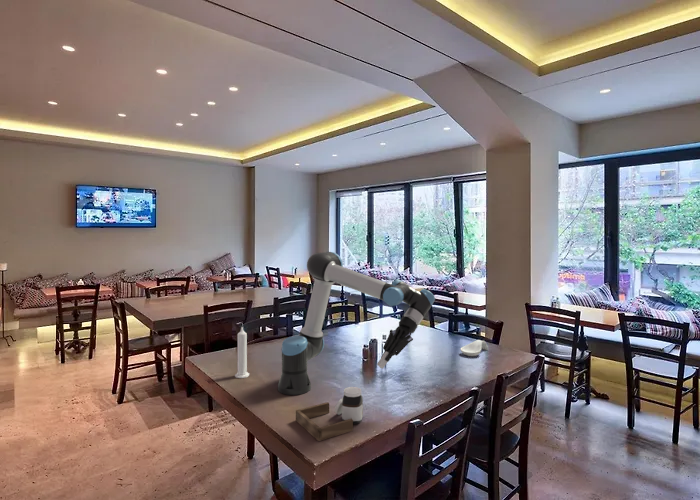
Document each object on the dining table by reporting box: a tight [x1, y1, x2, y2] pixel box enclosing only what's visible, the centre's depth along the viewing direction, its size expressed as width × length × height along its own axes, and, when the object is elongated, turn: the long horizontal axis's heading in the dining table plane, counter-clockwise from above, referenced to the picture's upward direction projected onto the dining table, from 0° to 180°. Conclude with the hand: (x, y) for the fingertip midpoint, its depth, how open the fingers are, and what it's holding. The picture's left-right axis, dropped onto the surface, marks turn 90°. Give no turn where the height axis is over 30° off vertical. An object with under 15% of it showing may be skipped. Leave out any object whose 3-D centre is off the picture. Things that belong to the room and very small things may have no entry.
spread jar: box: [334, 386, 364, 425], centre depth 154 cm, size 12×11×12 cm
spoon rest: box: [460, 339, 489, 357], centre depth 243 cm, size 24×12×7 cm, turn 135°
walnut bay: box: [295, 401, 354, 442], centre depth 148 cm, size 18×14×4 cm
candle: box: [234, 326, 250, 379], centre depth 200 cm, size 7×7×25 cm
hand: (379, 366), depth 161 cm, fingers closed
